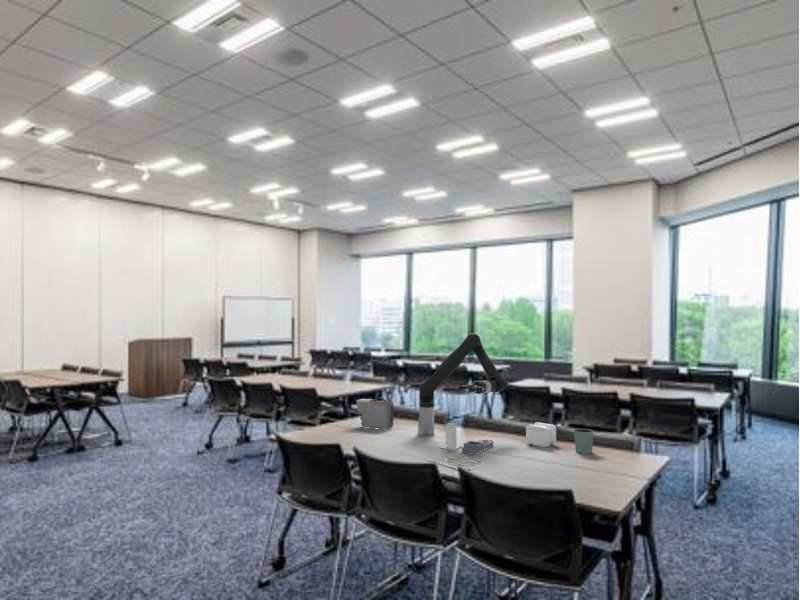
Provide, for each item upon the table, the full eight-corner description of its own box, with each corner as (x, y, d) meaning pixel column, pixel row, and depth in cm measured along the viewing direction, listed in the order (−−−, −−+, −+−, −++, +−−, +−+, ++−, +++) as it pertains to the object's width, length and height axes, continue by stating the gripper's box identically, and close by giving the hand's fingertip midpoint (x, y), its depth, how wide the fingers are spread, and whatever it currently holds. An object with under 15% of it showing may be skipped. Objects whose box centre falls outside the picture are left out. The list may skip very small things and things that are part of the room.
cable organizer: (557, 445, 313) (557, 425, 314) (547, 448, 306) (547, 427, 306) (535, 441, 324) (535, 421, 325) (525, 444, 317) (525, 424, 317)
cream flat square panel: (423, 460, 282) (423, 457, 282) (464, 452, 300) (464, 449, 300) (464, 473, 258) (464, 469, 258) (506, 464, 276) (506, 461, 276)
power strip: (462, 452, 296) (462, 444, 297) (485, 442, 322) (485, 434, 322) (475, 454, 292) (475, 446, 292) (497, 443, 317) (497, 436, 317)
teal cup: (593, 455, 291) (592, 432, 292) (573, 453, 295) (573, 431, 295) (593, 450, 301) (593, 429, 301) (574, 449, 304) (574, 427, 305)
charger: (445, 446, 307) (445, 424, 307) (450, 445, 310) (450, 422, 311) (452, 448, 304) (452, 425, 304) (456, 446, 307) (456, 423, 308)
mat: (440, 448, 306) (440, 447, 306) (447, 445, 313) (447, 444, 313) (454, 450, 301) (454, 449, 301) (461, 447, 308) (461, 446, 308)
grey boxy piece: (363, 424, 373) (363, 380, 374) (394, 427, 364) (395, 382, 365) (354, 427, 362) (355, 382, 363) (387, 430, 353) (387, 384, 354)
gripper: (473, 379, 332) (455, 381, 321) (491, 381, 321) (473, 383, 310) (473, 392, 331) (455, 394, 321) (491, 394, 321) (473, 397, 310)
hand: (464, 389), depth 315 cm, fingers open, 8 cm apart
